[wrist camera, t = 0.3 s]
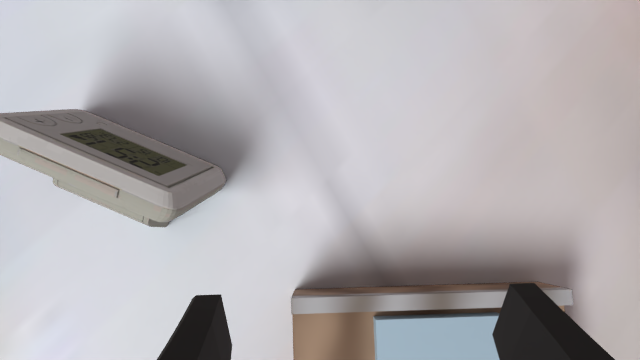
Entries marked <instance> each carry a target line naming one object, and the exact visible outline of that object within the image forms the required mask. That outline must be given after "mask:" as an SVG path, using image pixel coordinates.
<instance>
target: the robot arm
mask: <svg viewBox="0 0 640 360" xmlns="http://www.w3.org/2000/svg"><path fill="white" fill-rule="evenodd" d="M492 335H493V339H494V342H495V346H496V349H497V353H498V356H499V359H500V360H615V359H614V358H613V357H611V356H610V355H609V354H608V353H607V352H606V351H605V350H604V349H603V348H602V347H601V346H599V345H598V344H597V343H596V342H595V341H594V340H593V339H592V338H591V337H590V336H589V335H588V334H587V333H586V332H585V331H584V330H583V329H581V328H580V327H579V326H578V325H577V324H576V323H575V322H574V321H573V320H572V319H571V318H570V317H569V316H568V315H567V314H566V313H565V312H564V311H563V310H562V309H561V308H560V307H559V306H558V305H557V304H556V303H555V302H554V301H553V300H552V299H550V298H549V297H548V296H547V295H546V294H545V293H544V292H543V291H542V290H541V289H540V288H539V287H538V286H537V285H536V284H535V283H514V284H510V285H509V288H508V290H507V293H506V296H505V299H504V302H503V305H502V308H501V311H500V314H499V316H498V319H497V322H496V325H495V328H494V331H493V334H492ZM231 350H232V343H231V338H230V334H229V329H228V325H227V320H226V316H225V311H224V307H223V302H222V297H221V295H196V296H195V297H194V298H193V299H192V301H191V302H190V304H189V306H188V308H187V310H186V312H185V314H184V315H183V317H182V319H181V321H180V322H179V324H178V326H177V328H176V329H175V331H174V333H173V334H172V336H171V338H170V339H169V341H168V343H167V344H166V346H165V348H164V349H163V351H162V352H161V354H160V356H159V357H158V359H157V360H231Z"/></svg>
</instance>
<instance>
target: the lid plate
mask: <svg viewBox="0 0 640 360" xmlns="http://www.w3.org/2000/svg"><path fill="white" fill-rule="evenodd" d="M499 314H500V313H497V312H490V313H459V314H428V315H397V316H373V322H374V344H375V360H500V359H499V356H498V353H497V349H496V346H495V342H494V339H493V335H492V334H493V331H494V328H495V325H496V322H497V319H498V316H499Z"/></svg>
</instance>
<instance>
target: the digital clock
mask: <svg viewBox="0 0 640 360" xmlns="http://www.w3.org/2000/svg"><path fill="white" fill-rule="evenodd" d="M0 155H2V156H4V157H6V158H9V159H11V160H13V161H15V162H18V163H20V164H22V165H25V166H27V167H29V168H32V169H34V170H36V171H39V172H41V173H43V174H46V175H48V176H50V177H53V184H54V185H55V186H57V187H59V188H62V189H64V190H66V191H69V192H71V193H73V194H76V195H78V196H80V197H83V198H85V199H87V200H90V201H92V202H94V203H97V204H99V205H101V206H104V207H106V208H108V209H111V210H113V211H115V212H118V213H120V214H122V215H125V216H127V217H129V218H132V219H134V220H136V221H139V222H141V223H143V224H146V225H148V226H151V227H166V226H167V225H168V223H169V221H171V220H173V219H175V218H177V217H178V216H180V215H182V214H183V213H185V212H187V211H188V210H190V209H191V208H193V207H195V206H196V205H198V204H199V203H201V202H203V201H204V200H206V199H207V198H209V197H211V196H212V195H214V194H215V193H217V192H218V191H219V190H221V189H222V187H223V186H224V185H225V182H226V178H225V176H224V173H223V171H222V169H221V168H220V167H218V166H216V165H213V164H211V163H209V162H207V161H204V160H202V159H200V158H197V157H195V156H192V155H190V154H188V153H185V152H183V151H181V150H178V149H176V148H173V147H171V146H169V145H166V144H164V143H161V142H159V141H157V140H154V139H152V138H150V137H147V136H145V135H142V134H140V133H138V132H135V131H133V130H130V129H128V128H126V127H123V126H121V125H119V124H116V123H114V122H111V121H109V120H107V119H104V118H102V117H99V116H97V115H94V114H92V113H89V112H87V111H84V110H78V109H69V110H51V111H33V112H16V113H0Z"/></svg>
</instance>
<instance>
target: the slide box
mask: <svg viewBox="0 0 640 360" xmlns="http://www.w3.org/2000/svg"><path fill="white" fill-rule="evenodd" d="M514 283H535V284H536V285H537V286H538V287H539V288H540V289H541V290H542V291H543V292H544V293H545V294H546V295H547V296H548V297H549V298H550V299H552V300H553V301H554V302H555V303H556V304H557V305H558V306H559V307H560V308H561V309H562V310H563V311H564V312H565V309H564V305H573V297H572V289H568V288H563V287H559V286H554V285H550V284H545V283H541V282H514ZM514 283H483V284H451V285H420V286H388V287H357V288H325V289H295V291H294V293H293V295H292V298H291V313H292V314H293V353H294V360H375V344H374V322H373V316H397V315H428V314H459V313H490V312H497V313H500V311H501V308H502V305H503V302H504V299H505V296H506V293H507V290H508V288H509V285H510V284H514Z"/></svg>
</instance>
